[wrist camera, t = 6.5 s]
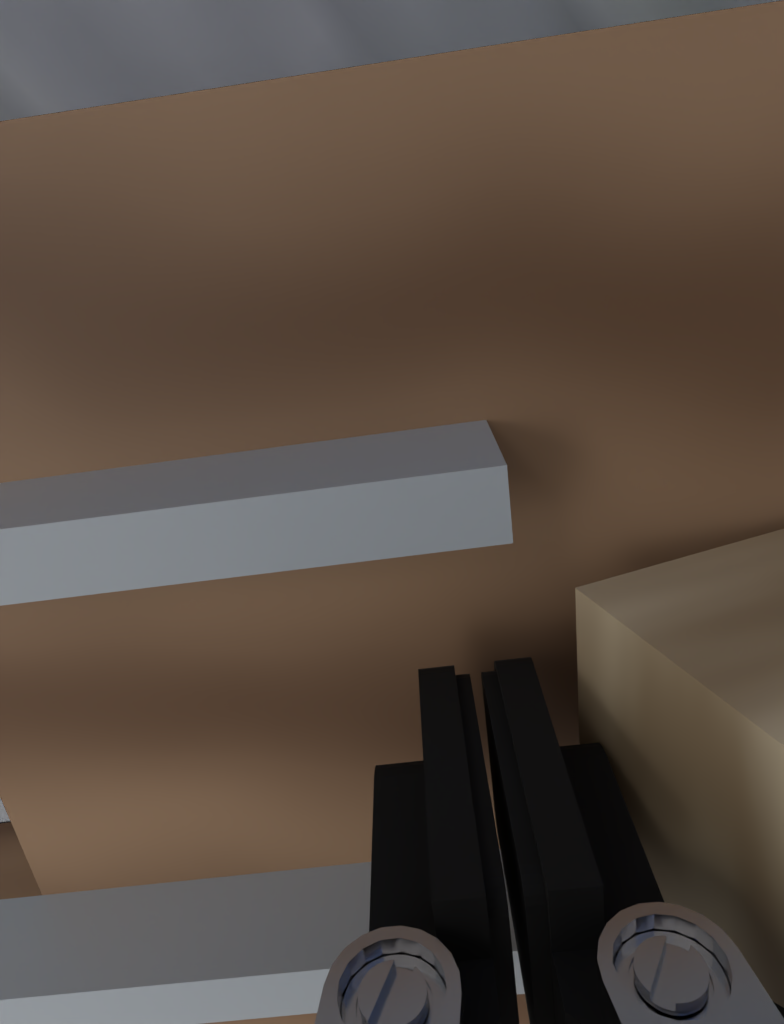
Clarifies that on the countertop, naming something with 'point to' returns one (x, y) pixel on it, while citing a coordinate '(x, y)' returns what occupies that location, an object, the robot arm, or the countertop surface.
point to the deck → (375, 406)
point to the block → (698, 730)
